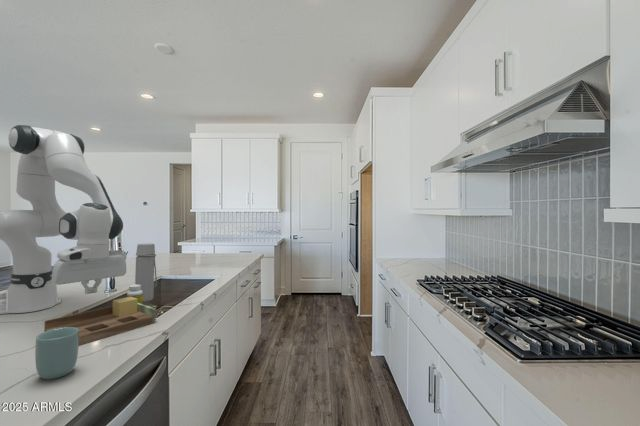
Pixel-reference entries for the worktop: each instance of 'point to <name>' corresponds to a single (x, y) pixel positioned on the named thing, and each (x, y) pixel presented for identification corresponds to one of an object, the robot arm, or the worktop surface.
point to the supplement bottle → (135, 292)
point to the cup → (56, 352)
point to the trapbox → (103, 322)
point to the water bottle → (146, 270)
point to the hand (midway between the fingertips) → (90, 293)
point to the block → (124, 306)
